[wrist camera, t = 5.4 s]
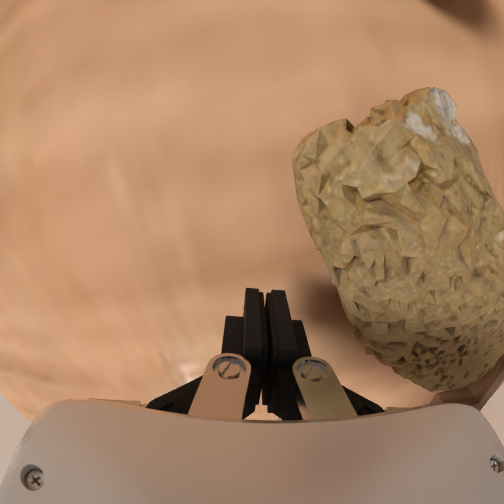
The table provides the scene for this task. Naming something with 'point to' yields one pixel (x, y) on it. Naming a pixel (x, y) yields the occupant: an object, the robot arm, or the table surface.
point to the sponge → (409, 237)
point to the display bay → (475, 389)
